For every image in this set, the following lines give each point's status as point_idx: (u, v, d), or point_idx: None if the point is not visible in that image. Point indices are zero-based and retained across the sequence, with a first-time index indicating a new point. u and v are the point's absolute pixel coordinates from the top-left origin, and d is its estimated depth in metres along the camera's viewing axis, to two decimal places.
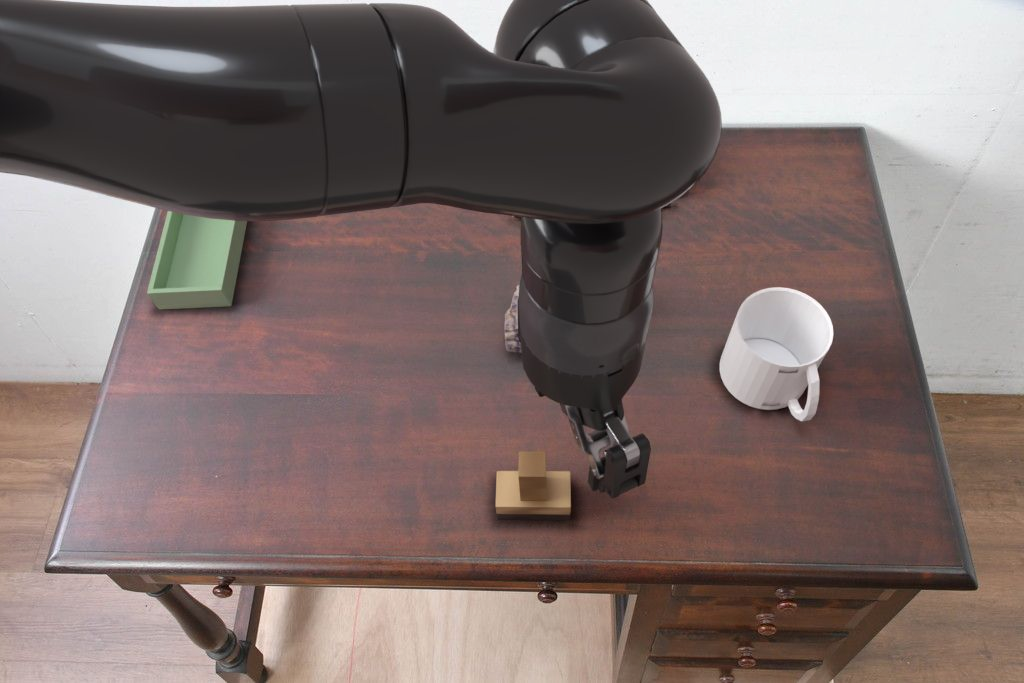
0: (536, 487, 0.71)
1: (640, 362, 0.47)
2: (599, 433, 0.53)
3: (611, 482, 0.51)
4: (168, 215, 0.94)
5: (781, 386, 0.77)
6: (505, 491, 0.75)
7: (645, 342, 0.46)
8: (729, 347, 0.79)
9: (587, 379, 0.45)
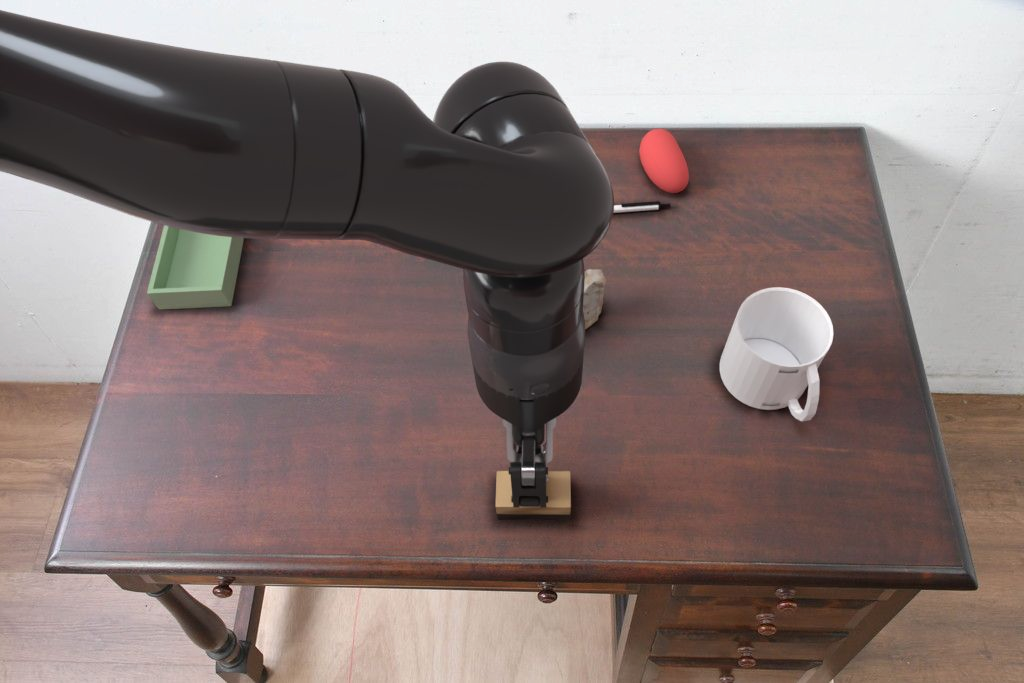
0: None
1: (562, 402, 0.53)
2: None
3: None
4: None
5: (781, 386, 0.77)
6: (505, 491, 0.75)
7: (566, 387, 0.52)
8: (729, 347, 0.79)
9: (502, 396, 0.51)
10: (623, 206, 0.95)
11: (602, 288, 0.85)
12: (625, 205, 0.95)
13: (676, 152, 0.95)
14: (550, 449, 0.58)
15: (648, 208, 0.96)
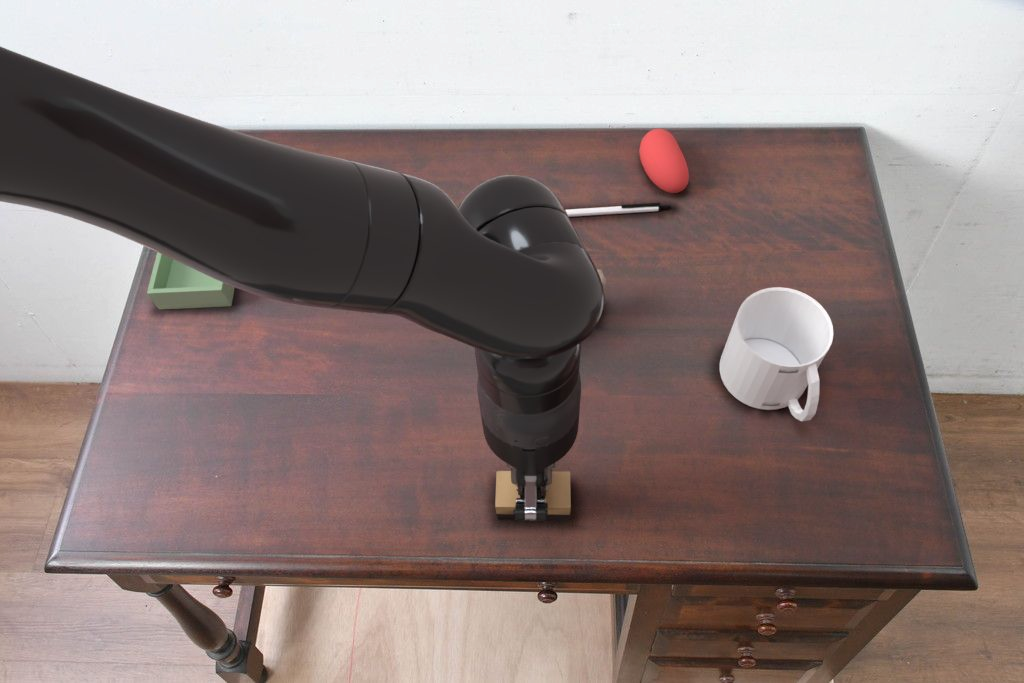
0: None
1: (560, 450, 0.60)
2: None
3: None
4: None
5: (781, 386, 0.77)
6: (505, 491, 0.75)
7: (564, 438, 0.58)
8: (729, 347, 0.79)
9: (507, 445, 0.58)
10: (623, 208, 0.96)
11: None
12: (625, 206, 0.95)
13: (676, 152, 0.95)
14: (549, 478, 0.66)
15: (648, 209, 0.96)
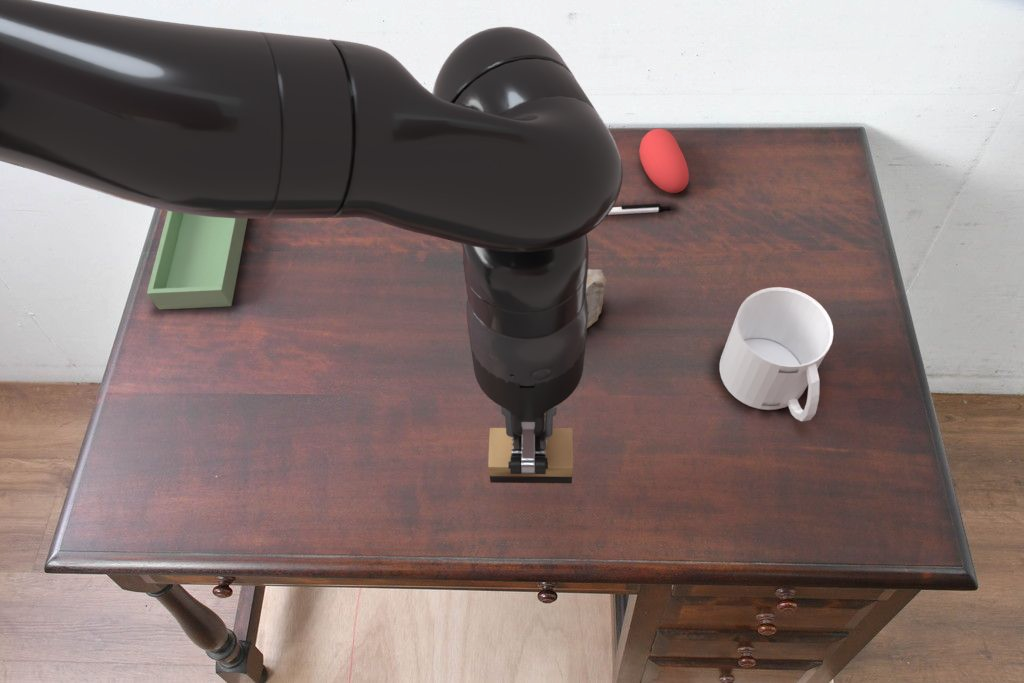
0: None
1: (563, 390, 0.51)
2: None
3: None
4: (168, 215, 0.94)
5: (781, 386, 0.77)
6: (499, 450, 0.66)
7: (568, 373, 0.50)
8: (729, 347, 0.79)
9: (501, 382, 0.50)
10: (622, 208, 0.96)
11: (602, 288, 0.85)
12: (625, 207, 0.95)
13: (676, 152, 0.95)
14: (550, 428, 0.58)
15: (648, 210, 0.96)
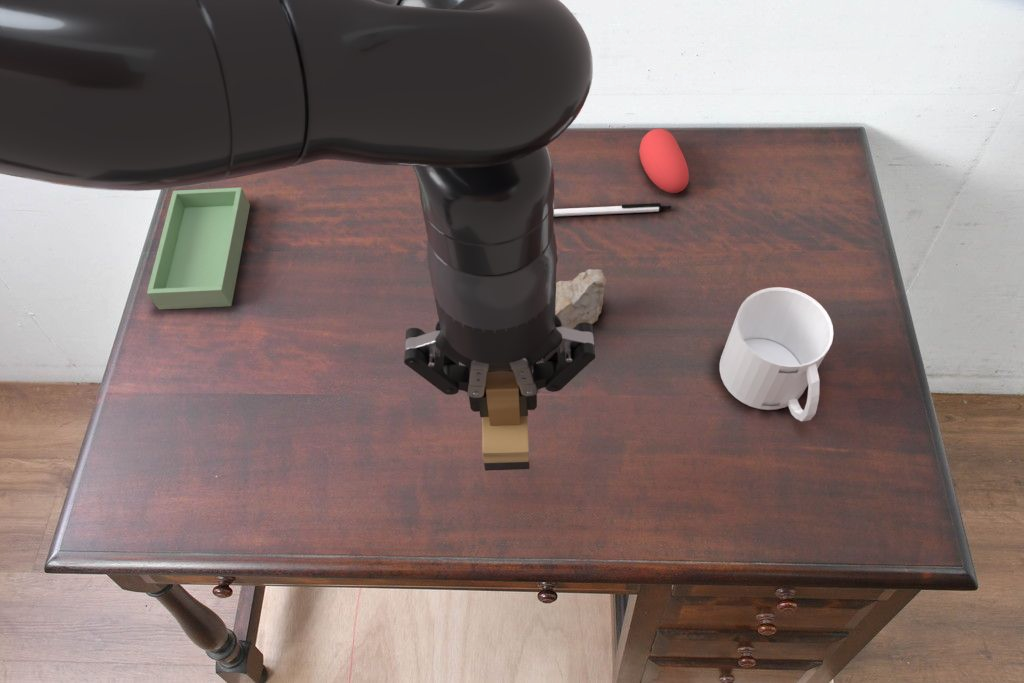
0: None
1: None
2: None
3: (568, 377, 0.56)
4: (168, 215, 0.94)
5: (781, 386, 0.77)
6: (509, 441, 0.62)
7: None
8: (729, 347, 0.79)
9: (551, 301, 0.48)
10: (623, 207, 0.95)
11: (602, 288, 0.85)
12: (625, 206, 0.95)
13: (676, 152, 0.95)
14: None
15: (649, 210, 0.95)
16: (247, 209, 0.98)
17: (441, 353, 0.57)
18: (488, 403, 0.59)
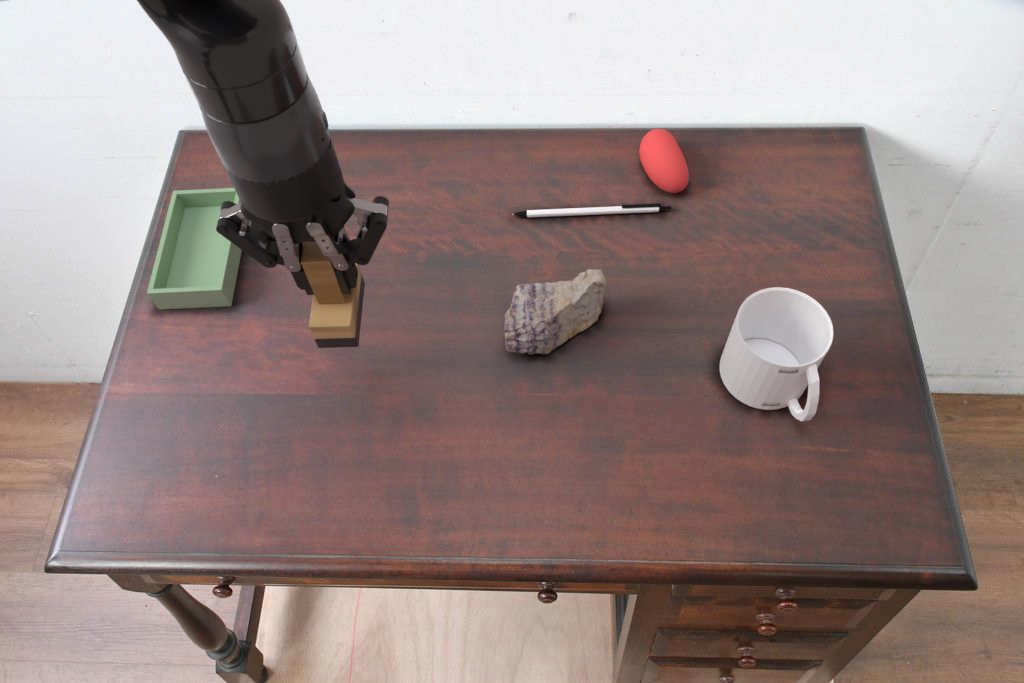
0: None
1: None
2: None
3: (370, 248, 0.63)
4: (168, 215, 0.94)
5: (781, 386, 0.77)
6: (333, 317, 0.68)
7: None
8: (729, 347, 0.79)
9: (322, 161, 0.54)
10: (623, 208, 0.95)
11: (602, 288, 0.85)
12: (625, 206, 0.95)
13: (676, 152, 0.95)
14: None
15: (649, 210, 0.95)
16: None
17: (258, 227, 0.63)
18: (308, 278, 0.66)
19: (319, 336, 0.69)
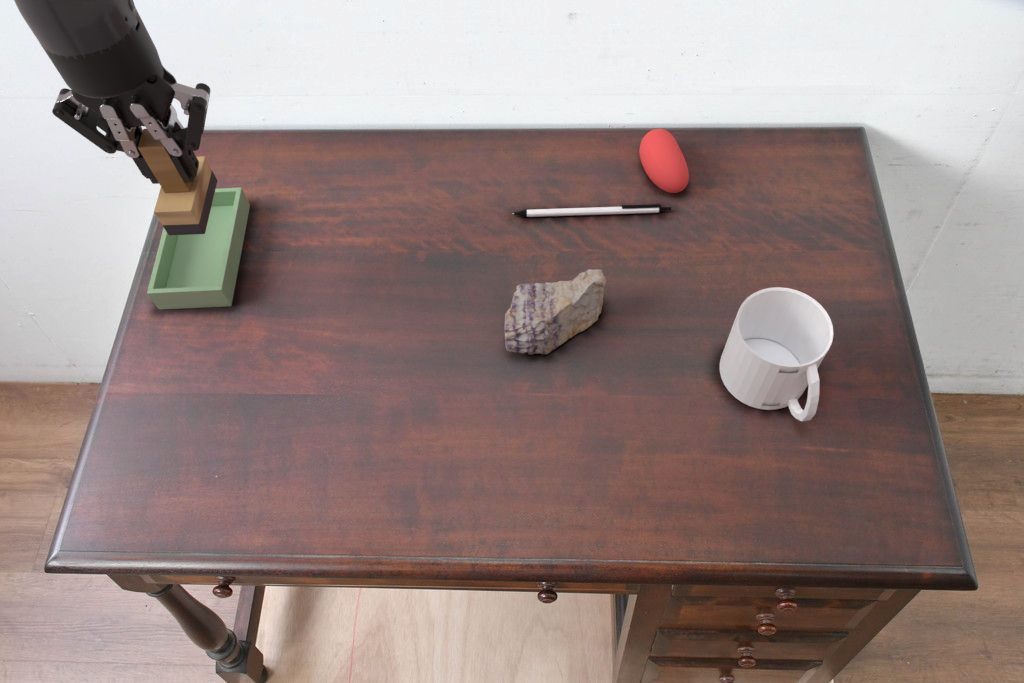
0: None
1: None
2: (162, 122, 0.70)
3: (197, 133, 0.69)
4: None
5: (781, 386, 0.77)
6: (177, 204, 0.75)
7: None
8: (729, 347, 0.79)
9: (128, 39, 0.61)
10: (623, 208, 0.95)
11: (602, 288, 0.85)
12: (625, 207, 0.95)
13: (676, 152, 0.95)
14: (170, 104, 0.70)
15: (649, 211, 0.95)
16: (247, 209, 0.98)
17: (96, 115, 0.70)
18: (148, 164, 0.73)
19: (166, 222, 0.76)
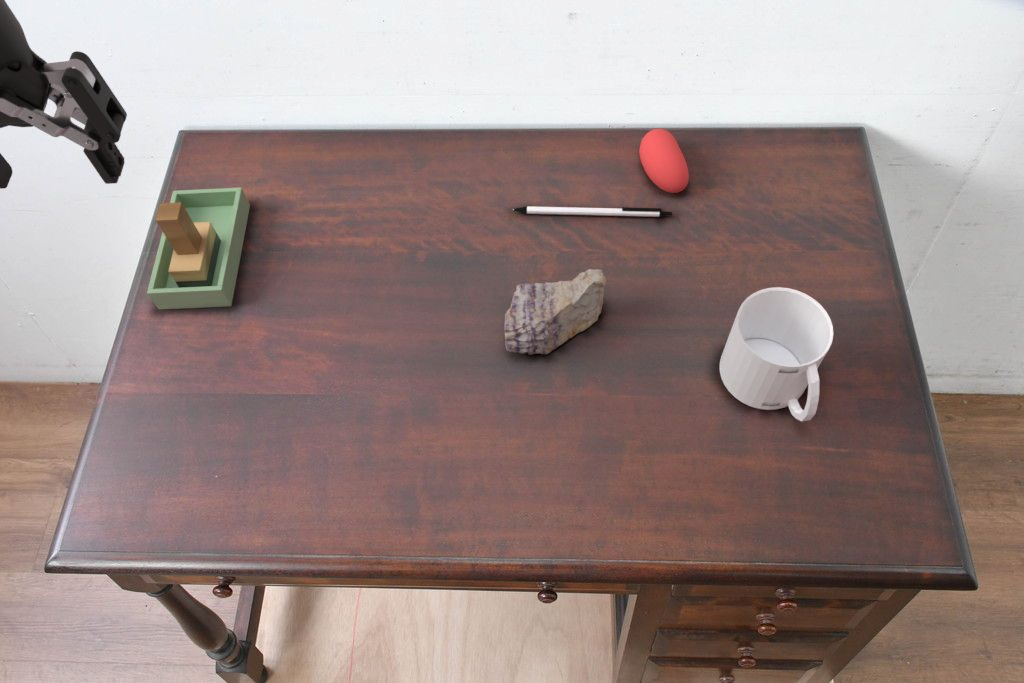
0: (189, 224, 0.88)
1: None
2: (57, 113, 0.56)
3: (99, 117, 0.55)
4: None
5: (781, 386, 0.77)
6: (188, 264, 0.89)
7: None
8: (729, 347, 0.79)
9: None
10: (623, 210, 0.95)
11: (602, 288, 0.85)
12: (626, 209, 0.95)
13: (676, 152, 0.95)
14: (62, 89, 0.56)
15: (649, 214, 0.95)
16: (247, 209, 0.98)
17: None
18: (164, 233, 0.87)
19: (178, 279, 0.90)
